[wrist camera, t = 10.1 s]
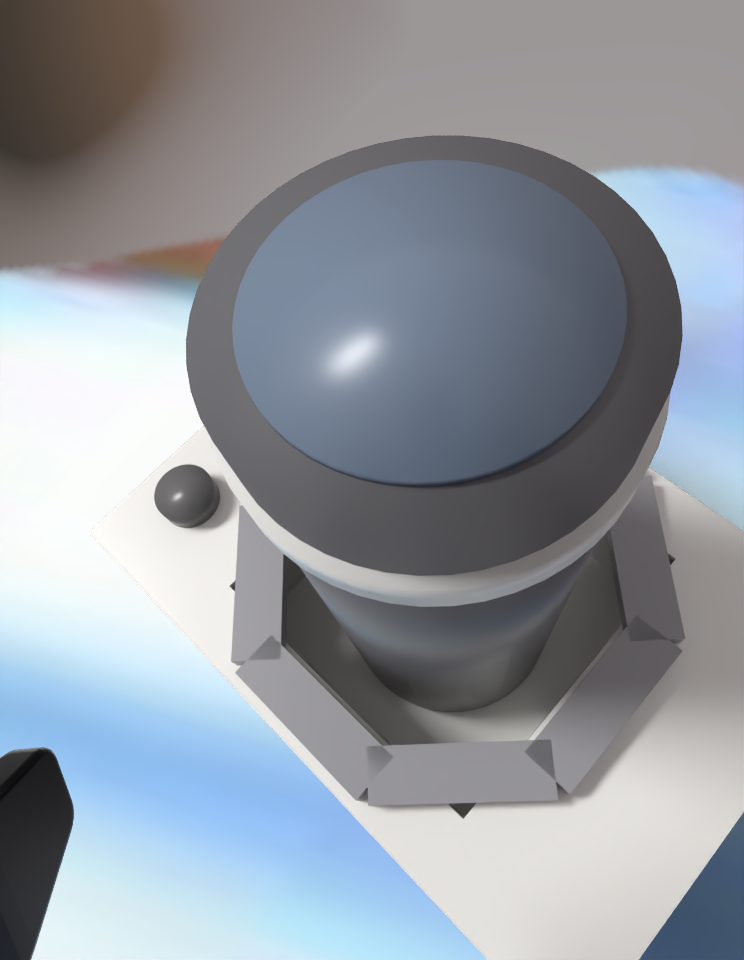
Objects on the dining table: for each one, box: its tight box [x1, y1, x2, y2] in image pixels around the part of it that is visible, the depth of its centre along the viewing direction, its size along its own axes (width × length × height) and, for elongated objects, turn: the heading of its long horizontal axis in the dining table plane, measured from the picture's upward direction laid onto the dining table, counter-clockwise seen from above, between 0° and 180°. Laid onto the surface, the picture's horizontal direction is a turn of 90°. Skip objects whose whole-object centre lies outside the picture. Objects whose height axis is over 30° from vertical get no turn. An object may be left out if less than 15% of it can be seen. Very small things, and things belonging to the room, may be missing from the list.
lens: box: [186, 136, 682, 712], centre depth 14 cm, size 6×6×14 cm
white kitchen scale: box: [89, 426, 744, 960], centre depth 19 cm, size 16×11×5 cm
